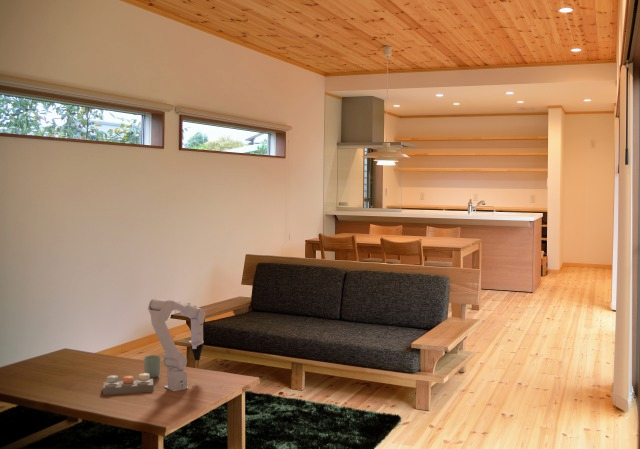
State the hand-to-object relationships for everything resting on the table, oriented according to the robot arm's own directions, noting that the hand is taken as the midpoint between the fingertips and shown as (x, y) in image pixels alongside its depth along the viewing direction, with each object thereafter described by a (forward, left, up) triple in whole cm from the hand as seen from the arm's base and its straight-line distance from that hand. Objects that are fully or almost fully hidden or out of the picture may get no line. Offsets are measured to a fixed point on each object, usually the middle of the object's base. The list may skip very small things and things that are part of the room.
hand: (197, 360), depth 328 cm
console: (+6, +33, -10) cm, 35 cm away
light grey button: (+10, +39, -5) cm, 40 cm away
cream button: (+3, +26, -5) cm, 27 cm away
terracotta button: (+6, +33, -6) cm, 34 cm away
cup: (+17, +15, -10) cm, 25 cm away
